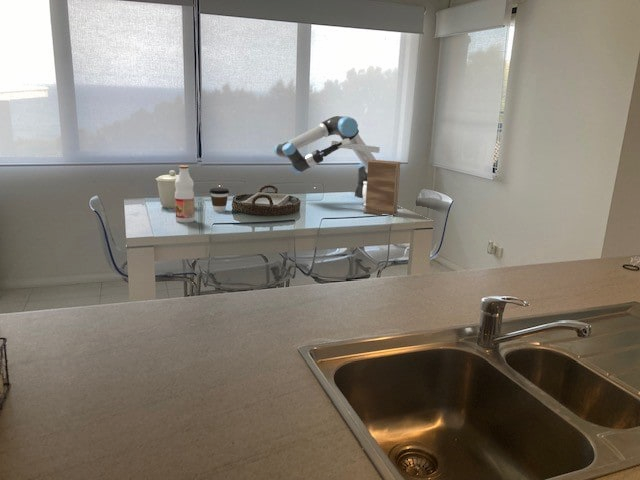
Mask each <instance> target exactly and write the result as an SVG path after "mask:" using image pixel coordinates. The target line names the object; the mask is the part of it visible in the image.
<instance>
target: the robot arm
mask: <svg viewBox="0 0 640 480" xmlns="http://www.w3.org/2000/svg"><path fill="white" fill-rule="evenodd" d="M358 127H359V124H358V121H356V119H355V118H353V117H350V116H339V115H335V116H332V117H330V118H328V119H326V120H324V121H321V122H320V123H319V124H318V126H316V127H314V128H312V129H311V128H310V130H307V131H306V132H303V133H302V134H300V135H298V136H295V137H294V138H292V139H290V140H288V141H286V142H284V143H279V144H276V145H275V147H274V149H273V150H274V151H273V152H274V154H275V156H276V157H277V156H278V157H280V158H285V159H287V160H289V161H290V162H291V164H290V168H291V170H292V172H293V173H294V174H296V175H298V174H300V173H304V172H305V171H306V170H308V169H310V168H312V167H314V168H315V166H316V165H318V164H319V163H322V162H323V161H324V157H327V156H329V155H331V154H332V153H334V152H335V151H337V150H339V149H340V148H339V147H341V146H343V145H345V144H347V143H353V144H360V145H367V144H366V142H364V140H363V139H362V137H361V136H360V135H359V133H360V130H359V128H358ZM330 136H339V137H340V139H341V141H338V143H336V144H335V145H332V146H331V145H330V146H328V147H326V148H324V149H321V150H319V149H316V150H313V151H312V152H311V153H308V154H306V155H304V156H303V155H302V154H301V153H300V151H299V150H300V149H302V148H304V147H306V146H309V145H310V144H312V143H314V142H316V141H318V140H320V139H322V138H327V137H330ZM352 151H353V153H355V155H356V157H357V158H358V159H359V161H360V163H359V164H358V167H357V169H358V172H357V173H358V174H357V185H356V188H355V190H354V197H356V196H357V198H362V199H363V186H364V183H363V181H367V175H368V161H371V160H377V158H375V156H374V155H373V152H367V151H360V150H353V149H352Z"/></svg>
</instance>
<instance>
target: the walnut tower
mask: <svg viewBox="0 0 640 480" xmlns="http://www.w3.org/2000/svg"><path fill="white" fill-rule="evenodd" d="M401 162H402V161H394V160H381V159H376V160H371V161H368V175H367V191H366V206H364V207H365V211H364V212H363V214H365V215H373V216H374V215H375V216H382V214H392V215H394V214H396V213H397V212H398V213H399V210H398V202H399V201H398V200H399V199H398V198H399V188H400V187H399V186H400V176H401V175H400V174H401V173H400V172H401ZM398 213H397V214H398ZM397 214H396V215H397ZM394 216H395V215H394Z"/></svg>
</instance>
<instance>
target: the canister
mask: <svg viewBox="0 0 640 480" xmlns="http://www.w3.org/2000/svg"><path fill="white" fill-rule="evenodd" d="M178 176H179V174H176V171H175V170H174V169H172V170H169V173H168V174H163V175H160V176H158V177H156V178H155V180H156V183H157V188H158V196H159V201H160V205H161V206H162V207H163V208H165V209H168V208H170V210H174V209H175V192H176V187H175V181H176V179H177V178H178Z"/></svg>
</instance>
